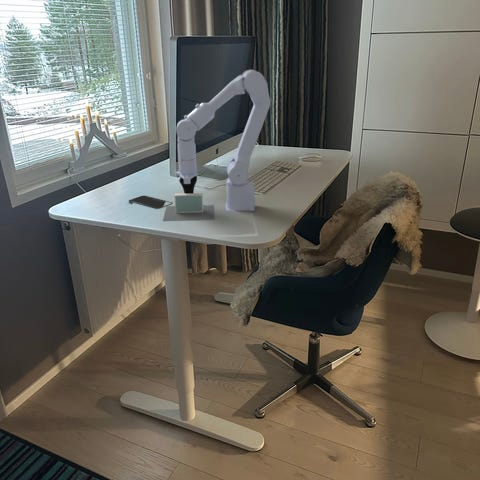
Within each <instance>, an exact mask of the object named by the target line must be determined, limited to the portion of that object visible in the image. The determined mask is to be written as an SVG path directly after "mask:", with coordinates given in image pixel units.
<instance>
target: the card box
mask: <svg viewBox="0 0 480 480" xmlns="http://www.w3.org/2000/svg"><path fill="white" fill-rule="evenodd" d="M203 193H204V192H203ZM203 193H202V192H196V193H195V192H194V193H186V194H184V193H174V206H175V212H176V213H189V212H203V205H204V200H203V198H204V196H203Z"/></svg>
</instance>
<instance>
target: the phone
mask: <svg viewBox="0 0 480 480" xmlns="http://www.w3.org/2000/svg"><path fill="white" fill-rule="evenodd" d="M166 202H167V203H168V204H166V205H165V203H166ZM128 203H129V204H130V205H134V204H137V205H139V206H143V207H147V208H152V209H155V210H159V209H162V208H163V209H164V208H166V207H167V206H171V205H173V201H168V200H164V199H160V198H156V197H153V196H149V195H140V196H138V197H137V196H136V197H135V198H131V199H128Z"/></svg>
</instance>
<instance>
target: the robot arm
mask: <svg viewBox="0 0 480 480" xmlns="http://www.w3.org/2000/svg"><path fill="white" fill-rule="evenodd" d="M268 87H269V86H268V82H267V80H266V78H265V77H264V75H263V74H262V73H261V72H259V71H257V70H255V69H247V70H245V71H244V72H243V73H241V74H239V75H238V76H236V77H235V78H234V79H232V80H231V81H230V82H229V83H228V84H227V85H226V86H225V87H223V89H222V90H220V92H219V93H217V94H216V95H215V96H214V97H212V99H211V100H210V101H209V102H201V103H200V104H199V103H196V105H195V108H194V109H192V111H190V113H188V114H185V115H183V119H181V120H179V121H178V122H177V125H176V128H175V129H176V131H175V132H176V136H177V146H176V147H177V160H178V170H177V171H175V172H174V173H175V175H176V176H179V183H180V185H181V187H182V190H183V194H186V193H195V191H194V190H195V186H196V183H197V180H198V176H197V175H198V168H197V167H198V166H197V150H196V147H197V145H196V143H195V136H196V133H197V131H200V130H201V129H203V127H205V126H207V124H209V122H211V121H212V120H213V119H214V118H215V116H216V115H215V114H216V111H217V110H218V109H220V108H221V107H222V106H223V105H225V103H227V102H228V101H230V99H232V98H234V96H237V95H245V94H246V92H247V94H248V95H249V97H250V99H251V101H252V105H253V106H252V108H251V111H250V114H249V117H248V119H247V122H246V125H245V127H244V130H243V133H242V135H241V139H240V141H239V143H238V146H237V150H236V151H235V153H234V154H233V157H232V159H231V160H230V161H229V162H228V163H227V165H226V172H227V175H228V178H227V179H226V183H225V184H226V185H225V186H226V187H225V189H226V202H225V204H224V205H225V211H226V212H229V211H230V212H231V211H233V212H234V211H235V212H236V211H238V212H239V211H250V212H255V204H256V199H255V197H256V196H255V194H256V193H255V192H256V191H255V183H254V182H253V181H249V180H248V178H249V168H250V164H251V157H252V154H253V151H254V150H255V146H256V144H257V141H258V139H259V136H260V133H261V130H262V128H263V126H264V123H265V120H266V118H267V114H268V112H269V109H270V108H271V107H270V106H271V98H270V93H269V88H268Z"/></svg>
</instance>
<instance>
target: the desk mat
mask: <svg viewBox="0 0 480 480" xmlns="http://www.w3.org/2000/svg"><path fill="white" fill-rule="evenodd" d="M164 210H165V211H164V215H163V218H162V222H181V221H182V222H183V221H184V222H186V221H214V220H215V206H214V204H208V205H207V204H205V205H204V204H203V212H189V213H176V212H175V205H168V206H165V209H164Z"/></svg>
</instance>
